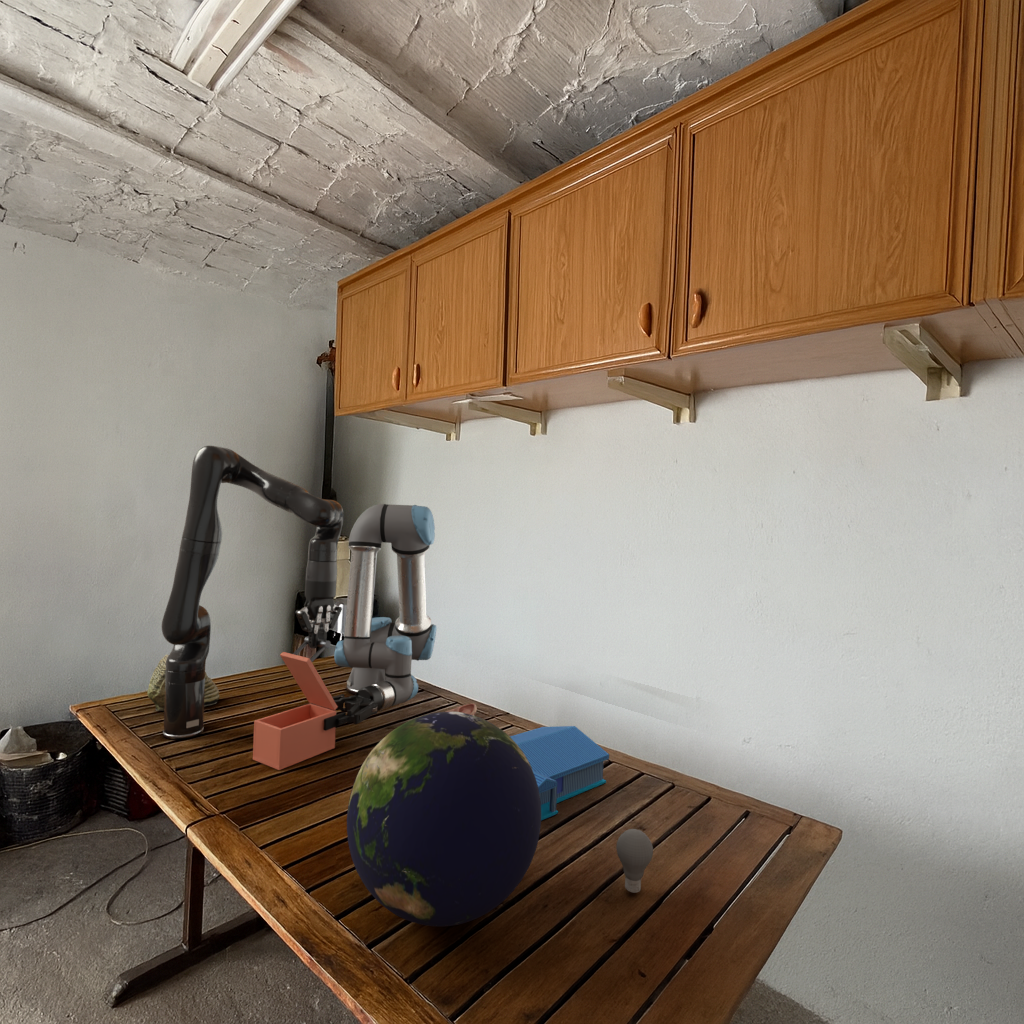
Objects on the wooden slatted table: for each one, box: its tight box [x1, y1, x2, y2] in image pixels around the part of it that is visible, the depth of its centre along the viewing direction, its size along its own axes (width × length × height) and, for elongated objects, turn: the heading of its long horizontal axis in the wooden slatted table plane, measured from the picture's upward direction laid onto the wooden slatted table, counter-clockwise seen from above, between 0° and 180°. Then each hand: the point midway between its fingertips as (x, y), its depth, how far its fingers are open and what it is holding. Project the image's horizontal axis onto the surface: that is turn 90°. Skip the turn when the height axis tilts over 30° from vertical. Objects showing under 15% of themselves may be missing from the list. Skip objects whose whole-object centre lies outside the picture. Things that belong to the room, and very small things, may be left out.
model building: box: [509, 725, 610, 822], centre depth 140 cm, size 39×24×10 cm, turn 132°
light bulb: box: [615, 828, 654, 894], centre depth 106 cm, size 6×6×10 cm
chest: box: [252, 703, 337, 771], centre depth 155 cm, size 17×10×9 cm, turn 148°
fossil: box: [147, 654, 221, 712], centre depth 185 cm, size 9×18×15 cm, turn 132°
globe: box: [346, 711, 542, 928], centre depth 99 cm, size 30×30×30 cm
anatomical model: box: [444, 702, 478, 716], centre depth 183 cm, size 13×4×12 cm
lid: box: [279, 635, 338, 711], centre depth 160 cm, size 17×10×9 cm
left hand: (317, 646), depth 160 cm, fingers closed on lid, 2 cm apart
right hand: (310, 720), depth 159 cm, fingers closed on chest, 10 cm apart
